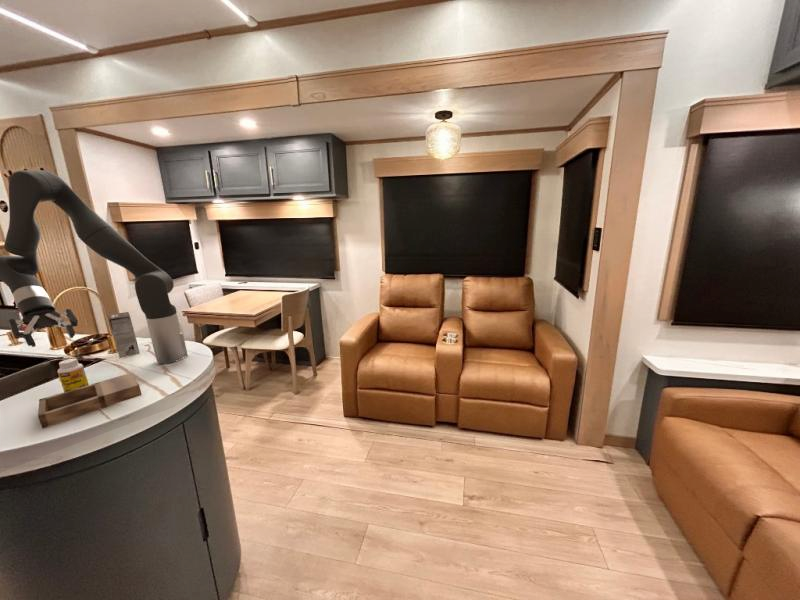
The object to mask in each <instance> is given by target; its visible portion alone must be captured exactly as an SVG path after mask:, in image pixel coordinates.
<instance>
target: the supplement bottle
mask: <svg viewBox="0 0 800 600" xmlns="http://www.w3.org/2000/svg"><path fill="white" fill-rule="evenodd" d="M58 365H59V368H58V369H57V372H56V373H57V374H58V375H57V376H58V378H59V382H60V383H61V387H62V390H63V392H67V391H70V390H74V389H77V388H80V387H84V386H87V385H90V384H89V380H88V378H87V374H86V371H85V368H84V364H82V363H79V361H78V359H77V358H68V359H65V360H62V361H59V363H58Z"/></svg>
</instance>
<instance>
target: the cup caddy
mask: <svg viewBox="0 0 800 600" xmlns="http://www.w3.org/2000/svg"><path fill="white" fill-rule="evenodd" d="M142 394H143V393H142V391H141V387H140V384H139V382H138V380H137V379H136V377H135V375H134V373H133V372H129V373H126V374H123V375H118V376H116V377H115V376H114V377H113V378H112V377H111V378H109V379H105V380H102V381H98V382H96V383H91V384H89V385H87V386H84V387H80V388H77V389H74V390H70V391H67V392H64V391H63V392H60V393H56V394H54V395H50V396H46V397H43V398H39V400H38V409H37V410H38V411H37V417H38V420H39V423H40V426H41V428H42V429H46V428H48V427H52V426H53V424H54V425H57V424H60V423H62V422H66V421H70V420H72V419H74V418H75V419H76V418H78V417H80V416H84V415H86V414H89V413H93V412H96V411H98V410H101V409H105V408H108V407H111V406H113V405H117V404H119V403H122V402H125V401H128V400H131V399H135V398H137V397H141V396H143V395H142ZM56 423H57V424H56Z"/></svg>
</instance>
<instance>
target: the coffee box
mask: <svg viewBox="0 0 800 600" xmlns="http://www.w3.org/2000/svg"><path fill="white" fill-rule="evenodd" d="M107 317H108V321H109V325H110V329H111V333H112V337H113V339H114V343H115V346H116V350H117V353H118V357H119V359H122V358H123V359H124V358H126V357H131V356H135V355H140V347H139V345H138V342H137V341H138V339H137V337H136V333H135V330H134V326H133V325H134V324H133V322H132V318H131V315H130V312H129V311H126V312H118V313H117V312H116V313H111V314H108V315H107Z"/></svg>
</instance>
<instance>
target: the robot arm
mask: <svg viewBox="0 0 800 600" xmlns="http://www.w3.org/2000/svg"><path fill="white" fill-rule="evenodd" d="M42 202H52V203H53V204H55V205H56V206H57V207H58V208H60V209H61V210H62V211H63V212H64V213H65V214H66V215H67V217H69V219H70V220H71V222H72V226H73V228H74V231H75V234H76V235H77V237H78V238H79V239H80V241H82V242H83V244H85V245H86V246H87V247H88V248H90V250H93V251H94V252H95V253H96V254H97V255H99V257H100V256H101V257H102V258H104V259H106V260H107V261H110V262H112V263H113V264H116V265H117V266H120V267H122V268H124V269H125V270H126V271H128V272H129V273H131V274H132V275H133V276H135V278H136V280H135V283H134V290H135V294H136V297H137V300H138V303H139V307H140V309H141V312H143V314H144V316H145V320H146V323H147V328H148V332H149V335H150V340H151V344H152V347H153V350H154V351H153V352H154V355H155V359H156V362H157V363H158V364H169V363H174V362H177V361H176V360H178V361H180V360H182V359H184V358H186V357H185V356H187V357H189V354H188V350H187V346H186V340H185V338H184V337H185V336H184V333H183V332H182V330H181V325H180V321H179V316H178V312H177V308H176V306H175V305H174V304H172V303H171V301H170V297H169V293H172V290H173V289H174V286H175V284H174V280H173V279H172V277H171V276H170V275H169V274H168V273H167V272H166V271H164V270H163V269H162V268H160V267H159V266H157V265H156V264H154V263H153V262H152V261H151V260H149V259H148V258H147V257H146V256H144V255H143V254H142V253H141V252H140V251H139V250H138V249H136V248H135V247H134V245H132V244H131V243H130V242H129V241H128V240H127V239H126V238H124V237H123V236H122V235H121V234H120V233H119V232H118V231H117V230H116V229H115V228H114V227H112V226H111V225H110V224H109V223H108V222H106V220H105V219H103V218H102V217H101V216H100V215H99V214H98V213H97V212H95V211H94V210H93V209H92V208H91V207H90V206H89V205H88V204H87V203H86V202H85V201H84V200H83V199H82V198H81V197H80V196H79V195H78V194H77V192H75V191H74V190H73V189H72V187H70V186H69V185H68V183H67V182H65V181H64V179H62V178H61V177H60V176H59V175H57V174H55V173H53V172H52V171H48V170H43V169H42V170H40V169H37V170H35V169H32V170H31V169H30V170H29V169H28V170H26V169H25V170H24V169H23V170H17V171H15V172H13V173H12V174H10V177H9V180H8V205H9V207H8V208H9V209H8V210H9V222H8V223H9V224H8V229H7V233H6V236H5V240H4V245H3V247H4V250H5V251H6V252H7V253H9V254H11V255H0V281H2V282H3V284H5V285H6V286H7V287H8V288H9V290H10V292H11V293H12V296H13V300H14V303H15V306H16V307H17V309H18V311H19V313H20V314H21V317H22V319H14V318H11V319H9V320H8V323H9V326H10V330H11V332H12V336H13V338H14V339H15V340H18V339H21V338H22V339H24V341H25V343H26V345H27V346H28V347H31V348H34V347H36V342H35V340H34V338H33V336H32V335H33V334H34V333H35V332H36V330H43V329H46V328H53V327H54V326H55V327H58V328H63V329H65V331H66V333H67V335H68V337H69V338H70V339H74V336H75V337H76V331H75V329H74V327H77V326H78V325H79V324H78V323H79V320H78V319H77V317H76V316H75V315H74V313H73V312H72V310H71V309H70V308H66V310H64V311H61V312H59V311H58V310H57V309H56V307H55V306H54V303H53V302H52V300H51V297H50V296H49V294H48V293H47V291H46V290H45V288H44V287H43V285H42V283H41V281H40V279H39V278H38V277H36V275H37V274H38V273H39V271H40V265H39V261H38V255H37V254H38V253H37V252H38V247H39V244H40V240H41V236H42V235H41V228H40V226H39V225H38V222H37V220H36V218H35V213H36V212H35V211H36V208H37V207H38V205H39V204H40V203H42ZM62 317H64V318H66V319H67V320H69V321H67V320H65V319H64V318H62ZM22 324H23V325H25V326H26V328H25V329H24V331H20V330H19V327H21V325H22ZM183 357H184V358H183ZM181 358H182V359H181ZM179 359H180V360H179ZM173 361H174V362H173Z"/></svg>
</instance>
